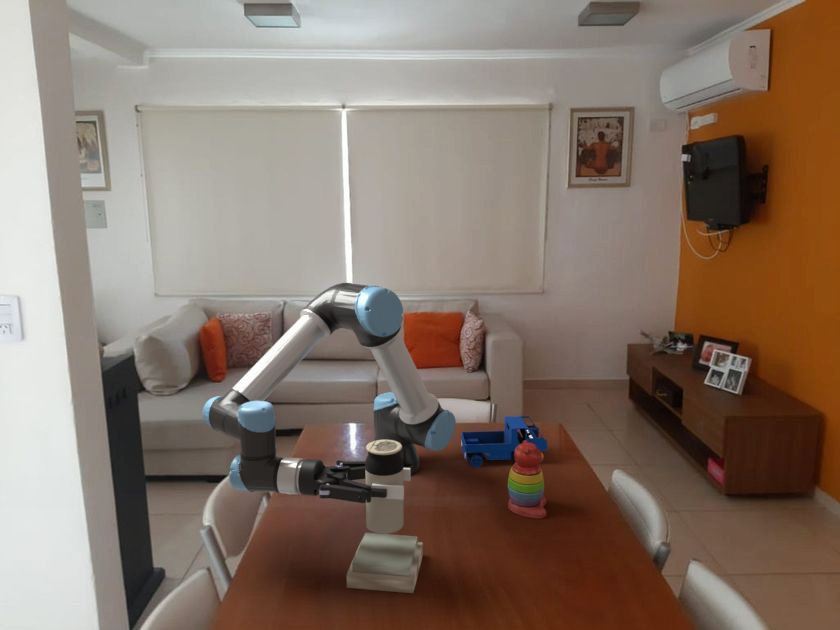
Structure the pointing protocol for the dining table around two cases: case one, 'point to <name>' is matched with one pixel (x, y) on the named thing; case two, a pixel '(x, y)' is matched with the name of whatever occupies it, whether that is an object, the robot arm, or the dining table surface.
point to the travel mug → (384, 469)
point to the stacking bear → (527, 482)
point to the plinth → (385, 578)
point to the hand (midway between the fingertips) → (406, 483)
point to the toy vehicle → (500, 441)
